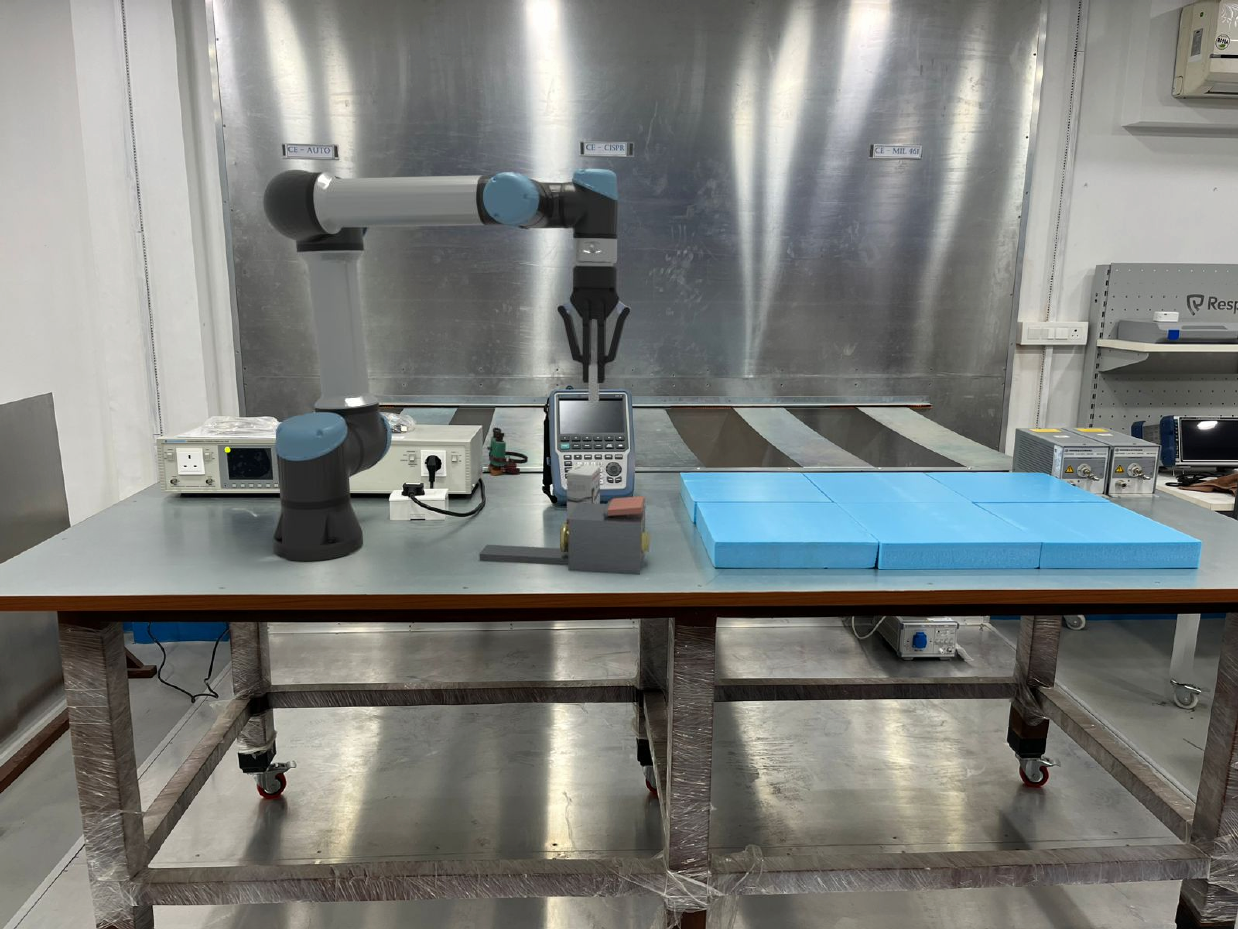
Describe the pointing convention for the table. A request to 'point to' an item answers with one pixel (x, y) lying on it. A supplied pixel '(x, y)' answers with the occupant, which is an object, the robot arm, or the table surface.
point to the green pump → (502, 455)
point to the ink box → (582, 486)
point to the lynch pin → (565, 539)
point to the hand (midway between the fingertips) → (593, 401)
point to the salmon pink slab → (624, 506)
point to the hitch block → (586, 543)
